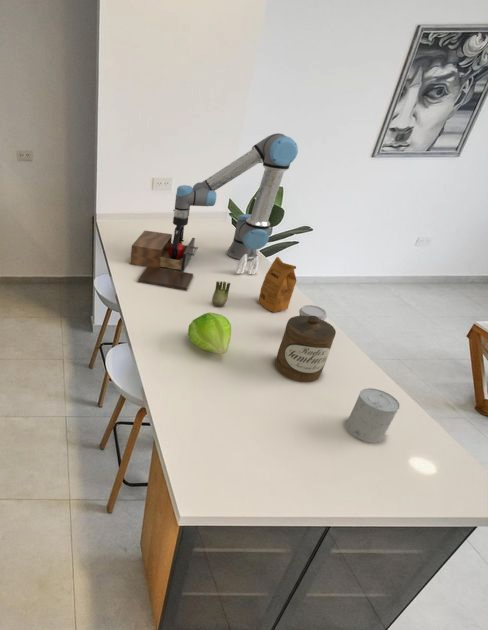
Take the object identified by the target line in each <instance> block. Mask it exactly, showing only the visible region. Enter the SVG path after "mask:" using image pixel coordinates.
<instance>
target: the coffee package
mask: <svg viewBox="0 0 488 630" xmlns="http://www.w3.org/2000/svg"><path fill="white" fill-rule="evenodd" d="M296 269H297V266H295V265H293V264H289V263H286V262H283V261H282V259H281V258H280V257H279V256H276V258H274V260H273V262H272V263H271V265H270V267H269V268H268V270H267V272H266V273H265V276H264V279H263V282H262V284H261V287H260V290H259V291H260V293H259V296H258V300H257V303H258V304H260V305H262V307H263V308H264V309H265V310H267V311H270V312H271V313H278V312H280V311H281V312H282V311H286V310H288V309H289V306H290V303H291V299H292V296H293V293H294V291H295V286H296V283H297V276H296V273H295V270H296Z"/></svg>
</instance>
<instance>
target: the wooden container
mask: <svg viewBox="0 0 488 630" xmlns="http://www.w3.org/2000/svg"><path fill="white" fill-rule="evenodd" d="M335 337H336V329H335V327H334V326H333V325H332V324H330V323H329V322H327V321H325V320H324V321H323V320H321V319H319V318H318V317H316V316H299V315H295V316H292V317H290V318H289V319H288V320H287V323H286V325H285V330H284V332H283V336H282V339H281V341H280V344H279V347H278V350H277V355H276V357H275V361H274V367H275V368H276V370H277V371H278V372H279V374H281V375H282V376H283V377H286V378H287V379H290V380H293V381H297V382H300V383H301V382H302V383H311V382H315V381H317V380H319V379H320V377H321V375H322V372H323V370H324V368H325V365H326V363H327V360H328V357H329V354H330V351H331V348H332V346H333V342H334V339H335Z"/></svg>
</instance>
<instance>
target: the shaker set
mask: <svg viewBox="0 0 488 630" xmlns="http://www.w3.org/2000/svg"><path fill="white" fill-rule="evenodd" d="M247 263H248V260H247V254H245V255H244V256H243V257H242V258H241V259H240V260H239V261H238V263H237V265H236V268H235V273H236V275H238V274H239V275H240V274H241V275H242V274H244V273H245V271H246V267H247ZM259 265H260V255H257V256H256V257H255V258H254V259H252V260H251V262H250V263H249V266H248V269H247V271H246V272H247V274H248V275H252V276H253V275H256V273H257V270H258V268H259Z"/></svg>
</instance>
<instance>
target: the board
mask: <svg viewBox="0 0 488 630" xmlns="http://www.w3.org/2000/svg"><path fill="white" fill-rule="evenodd" d="M193 278H194V273H191V272H187V271H184V272H182V271H181V270H175V269H169V268H163V267H160V268H156V267H150V266H147V267H145V269H144V270H143V272H142V273H141V275H140V276H139V277H138V279H137V282H138V283H142V284H148V285H153V286H156V287H157V286H159V287H163V288H169V289H174V290H178V291H179V290H180V291H185V292H187V291H188V289H189V286H190V284H191V282H192V279H193Z"/></svg>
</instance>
